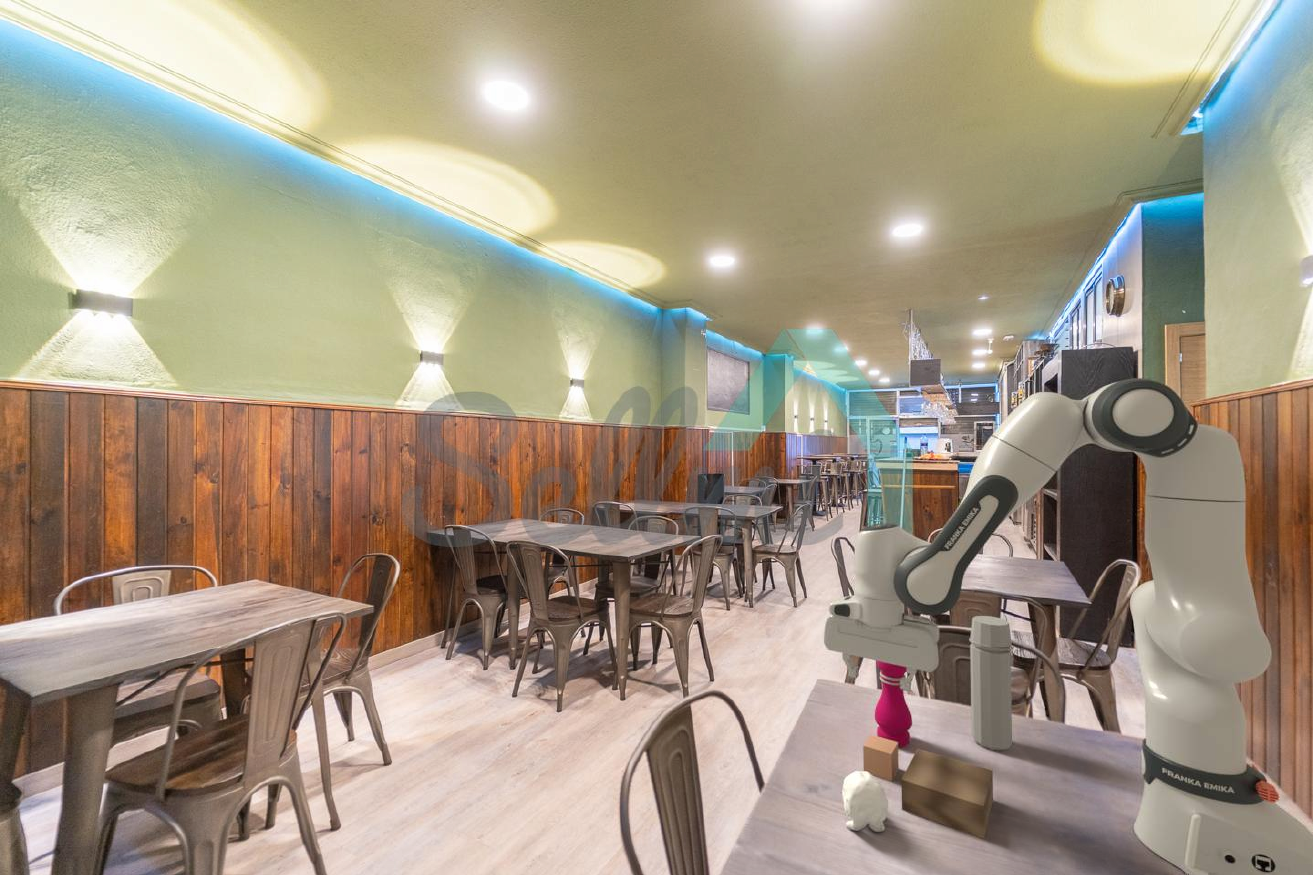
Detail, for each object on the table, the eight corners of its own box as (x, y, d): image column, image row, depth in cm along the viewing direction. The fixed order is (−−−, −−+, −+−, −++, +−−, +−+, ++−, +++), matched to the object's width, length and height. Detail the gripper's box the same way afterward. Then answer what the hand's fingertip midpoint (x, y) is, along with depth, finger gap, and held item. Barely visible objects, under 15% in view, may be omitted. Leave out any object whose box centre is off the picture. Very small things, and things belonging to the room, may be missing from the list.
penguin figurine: (847, 781, 88) (832, 748, 100) (849, 840, 87) (834, 799, 99) (889, 784, 88) (869, 750, 99) (892, 843, 87) (871, 802, 98)
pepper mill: (918, 748, 114) (917, 648, 114) (882, 748, 114) (881, 648, 114) (903, 730, 121) (902, 636, 122) (869, 730, 121) (868, 636, 122)
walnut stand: (993, 799, 98) (992, 770, 98) (984, 838, 88) (983, 806, 88) (917, 775, 105) (917, 748, 105) (901, 809, 95) (901, 779, 95)
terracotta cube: (898, 768, 107) (898, 742, 107) (891, 781, 103) (891, 753, 103) (871, 760, 110) (871, 734, 110) (863, 772, 106) (863, 745, 106)
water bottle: (1001, 757, 111) (998, 628, 111) (962, 739, 118) (960, 618, 118) (1027, 744, 115) (1024, 621, 116) (988, 728, 122) (986, 611, 122)
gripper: (942, 615, 103) (942, 691, 103) (831, 597, 116) (831, 665, 115) (935, 624, 98) (935, 704, 98) (820, 604, 111) (820, 675, 110)
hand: (878, 682), depth 107 cm, fingers open, 8 cm apart
